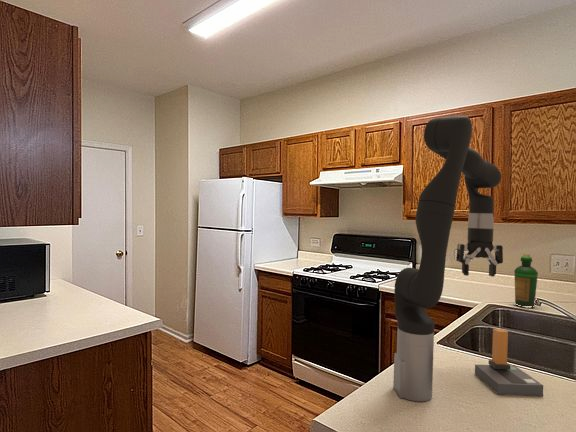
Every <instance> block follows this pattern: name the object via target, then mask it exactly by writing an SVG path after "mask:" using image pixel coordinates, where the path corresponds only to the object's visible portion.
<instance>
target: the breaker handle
mask: <svg viewBox="0 0 576 432" xmlns="http://www.w3.org/2000/svg"><path fill="white" fill-rule="evenodd" d="M508 338H509V331H507V330H506V329H504V328H493V329H492V347H491V349H492V350H491V359H488V364H487V365H491V366H492V367H493V368H495V369H510V365H511V364H509V363H508V346H509V345H508V344H509V343H508V342H509V339H508Z"/></svg>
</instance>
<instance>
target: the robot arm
mask: <svg viewBox="0 0 576 432" xmlns="http://www.w3.org/2000/svg"><path fill="white" fill-rule="evenodd" d="M472 132H473V124H472V121H471V119H470V117H468V116H466V115H455V116H454V115H453V116H445V117H436V118H433V119H430V120H428V122H427V123H426V124H425V127H424V130H423V140H424V142H425V145H426V147H427V148H428V149H429V150H430V151H431V152H433V153H434V154H437V155H438V156H440V157H442V158H443V159H445V161H444V164H443V165H442V167H441V168H440V170H438V173H436V175H434V177H433V178H432V179H431V180H430V181H429V182H428V183H427V185H426V186H425V187H424V189H422V191H421V193H420V195H419V198H418V202H417V207H416V212H415V226H416V230H417V234H418V237H419V241H420V245H421V246H420V247H421V256H420V262H419V267H418V268H415V267H406V268H405V267H404V268H403V269H401V270H400V271H399V272H398V273H397V275H396V278H395V282H394V315H395V318H396V320H397V321H396V322H397V333H396V335H397V336H396V337H397V338H396V352H395V353H394V357H393V359H394V361H393V381H392V382H393V384H392V385H393V389H394V391H395V392H396V394H397V396H398V398H400V399H406V400H408V401H413V402H417V403H418V402H419V403H421V402H427V401H430V400H431V399H432V398H433V382H434V381H433V380H434V378H433V377H434V350H435V349H434V340H435V322H434V321H435V320H433V318H432V317H430V315H429V314H428V312H427V311H426V310H425V309H430V308H433V307H434V306H436V305H437V304H438V303H439V301H440V299H441V297H442V294H443V290H444V283H445V282H444V281H445V272H446V271H445V270H446V259H447V251H448V245H449V239H450V232H451V228H452V224H453V219H454V214H455V210H456V209H455V208H456V205H457V200H458V199H457V198H458V193H459V187H460V182H461V181H460V180H461V177H462V174H463V175H464V177H463V179H464V183H465V187H466V190H467V195H468V200H469V211H468V218H467V219H468V220H467V242H466V244H464V243H463V244H462V243H458V244H457V248H456V259H455V260H456V262H459V263H461V273H462V275H464V276H466V277H468V276H469V274H470V273H469V272H470V265H469V263H470V262H471V261H473V260H474V259H475V258H477V259H478V258H483V259H485V260H487V261H488V263H489V264H488V276H489V277H495V275H496V274H497V265H499V264H503V262H504V253H503V251H504V250H503V249H504V248H503V247H504V246H503V245H500V244H495V245H493V241H494V224H495V223H494V222H495V220H494V214H493V213H494V197H492V195H487V194H481V193H480V192H479V190H478V189H493V188H495V187H497V186H499V184H500V183H501V180H502V173H501V171H500V168H499V167H498V166H496V165H495V164H493V163H491V162H489V161H487V160H485V159H484V158H483V157H482V156H481V154H480V153H479V152H477V150H475V149H473V148H471V147H470V145H471V144H470V143H471V139H472V135H473V134H472ZM466 250H467V252H466V253H465V251H466ZM492 251H494V255H493V254H492Z"/></svg>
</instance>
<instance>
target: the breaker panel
mask: <svg viewBox="0 0 576 432" xmlns="http://www.w3.org/2000/svg"><path fill="white" fill-rule="evenodd" d="M509 365H510V369H495V368H493V367H492V366H491V365H489V364H474V375H475V376H477V377H478V378H479V379H480V380H481V381H482V382H483V383H485V384H486V385H487V386H488V387H489V388H490V389H491V390H492V391H493V392H494V393H496V394H497V395H498V396H499V395H500V396H527V397H528V396H529V397H530V396H531V397H532V396H533V397H543V396H544V384H542V383H540V382H539V381H538V380H536V379H535V378H533V377H532V376H531V375H529V374H528V373H526V372H525V371H524V370H522V369H521V368H519V367H518V366H516V365H511V364H509Z"/></svg>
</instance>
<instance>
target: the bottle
mask: <svg viewBox="0 0 576 432" xmlns="http://www.w3.org/2000/svg"><path fill="white" fill-rule="evenodd" d="M519 261H520V262H521V265H518V266H517V267H516V268H515V269H514V270H513V271H514V301H515V302H514V304H515V303H516V304H518V305H521V306H532V307H533V306H534V307H535V305H534V300H535V301H536V294H537V286H538V285H537V284H538V275H539V273H538V271H537V269H536V268H534V267H533V266H532V262H533V258H532V256H531V254H528V253H523V254H522V256H521V257H520V259H519ZM516 304H515V305H516ZM534 307H533V308H534Z"/></svg>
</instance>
